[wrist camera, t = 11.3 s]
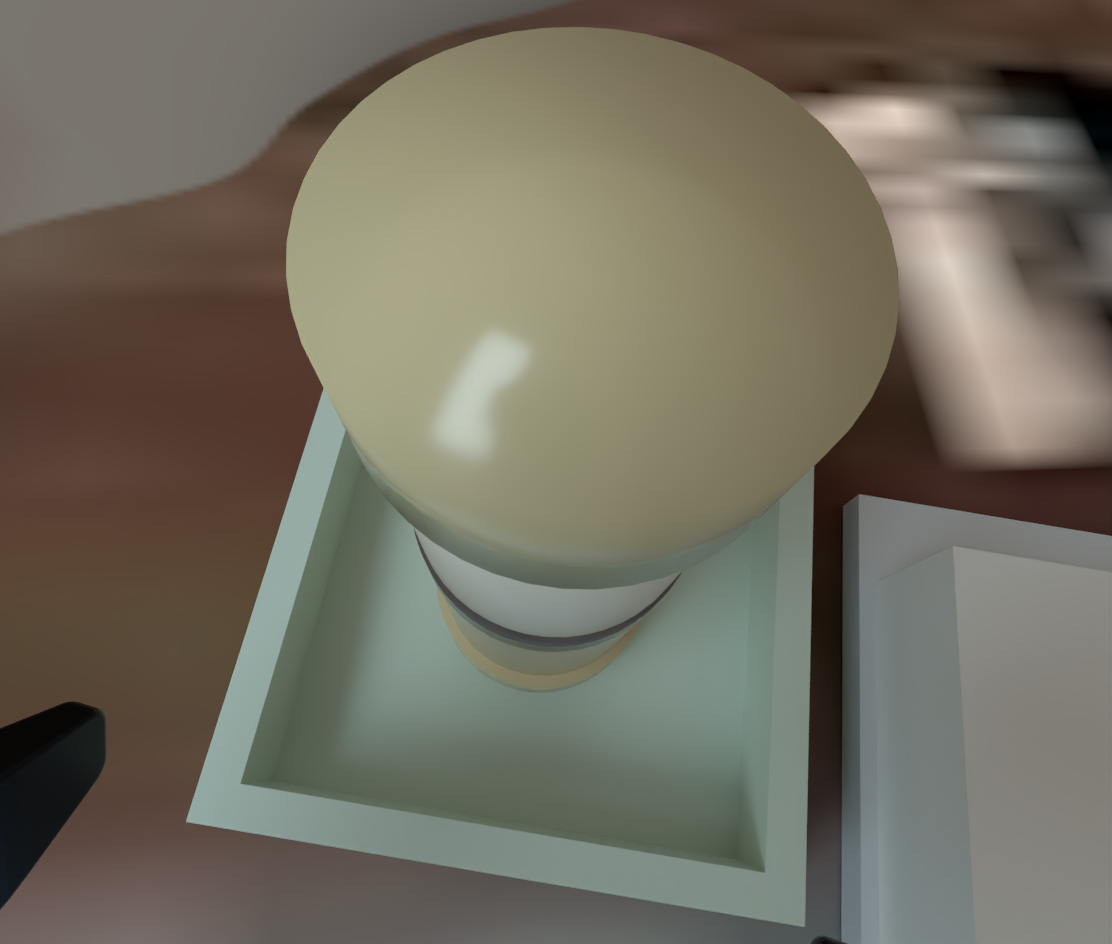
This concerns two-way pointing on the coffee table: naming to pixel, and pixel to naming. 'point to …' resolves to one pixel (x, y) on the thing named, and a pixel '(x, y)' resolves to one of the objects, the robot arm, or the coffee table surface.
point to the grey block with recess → (974, 729)
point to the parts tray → (522, 716)
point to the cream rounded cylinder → (585, 322)
